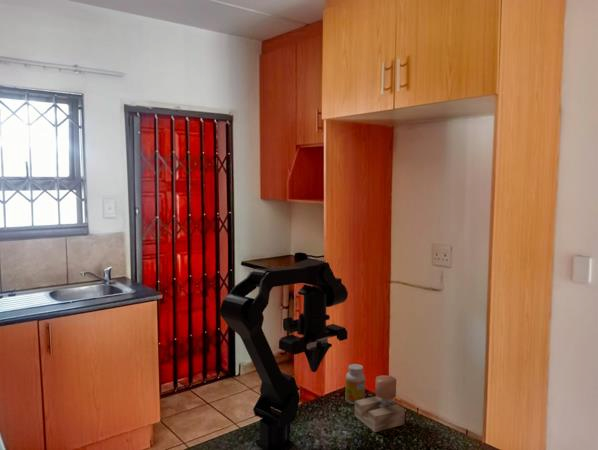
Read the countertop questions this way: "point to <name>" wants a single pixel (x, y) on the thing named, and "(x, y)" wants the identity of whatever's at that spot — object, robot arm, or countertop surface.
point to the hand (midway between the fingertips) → (313, 371)
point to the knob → (385, 389)
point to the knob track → (379, 414)
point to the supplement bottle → (355, 384)
